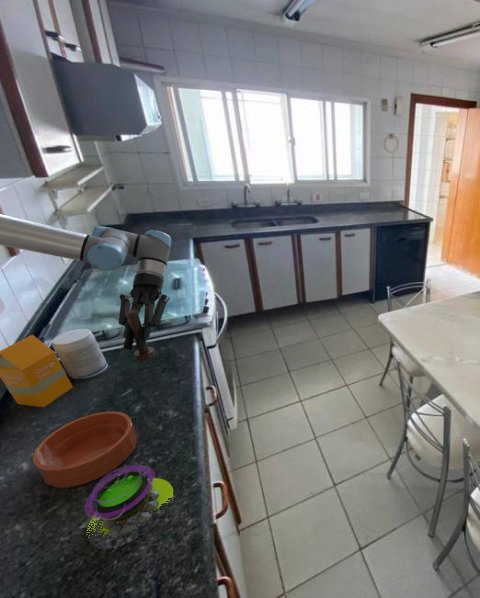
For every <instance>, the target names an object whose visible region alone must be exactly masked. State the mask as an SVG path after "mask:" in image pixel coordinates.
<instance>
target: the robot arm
mask: <svg viewBox="0 0 480 598" xmlns="http://www.w3.org/2000/svg"><path fill="white" fill-rule="evenodd" d="M0 246H4V247H6V248H7V247H8V248H12V249H18V250H23V251H29V252H32V253H33V252H34V253H38V254H44V255H49V256H53V257H60V258H64V259H69V260H74V261H75V260H76V261H80V262H85V263H88V264H90V265H91V266H93V267H94V268H95V269H97V270H101V271H114V270H116V269H118V268H120V267H121V266H122V264H124V263H125V261H126V260H127V257H130V258H131V257H132V258H137V259H138V261H137V265H136V269H135V274H134V278H133V282H132V288H131V290H130V291H129V293H126V294H124V293H121V294H120V295H119V300H120V307H119V315H118V317H119V318H118V325H120V326H122V327H124V331H123V334H122V336H123V338H124V343H123V347H122V348H123V349H124V350H129V351H131V350H132V349H133V347H134V342H135V339H134V336H133V333H132V329H131V326H130V323H129V320H128V317H127V314H126V312H128V311H130V310H137V311H138V315H139V316H140V312H141V311H142V310H141V309H142V308H144V313H143V315H144V316H143V323H141V325H142V326H140V330H139V335H138V339H137V344H136V343H135V349H137V350H138V349H141V350H142V349H144V346H145V341H147V339H149V338H150V337H151V336H150V335H151V331H152V328H154V327H159V326H160V324H161V321H162V317H163V315H164V312H165V308H166V305H167V303H168V302H170V299H171V297H170V296H168V295H167V294H163V292H162V289H163V286H164V281H165V280H164V278H165V277H166V271H167V266H168V261H169V258H170V253H171V248H172V237H171V236H170V235H169V234H167V233H166V232H163V231H160V230H153V229H150V230H147V231H146V232H144V234H138V233H134V232H130V231H125V230H122V229H116V228H113V227H111V226H110V227H107V226H102V225H97V226H95V227H94V228H93V230H92V232H91V235H90V234H86V233H82V232H79V231H74V230H70V229H66V228H61V227H58V226H53V225H48V224H45V223H40V222H37V221H33V220H27V219H23V218H19V217H15V216H10V215H6V214H2V213H0ZM131 301H132V302H131ZM156 301H157V303H156ZM154 308H155V309H154Z"/></svg>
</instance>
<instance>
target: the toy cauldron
mask: <svg viewBox="0 0 480 598" xmlns="http://www.w3.org/2000/svg"><path fill="white" fill-rule="evenodd" d="M138 471H139V472H138ZM114 472H116V473H114ZM142 472H143V473H146V476H145V475H143V474H142ZM112 473H113V474H112ZM154 476H156V475H155V471H154V470H153V469H152V468H151V467H149V466H147V465H126V466H122V467H119V468H115V469H114V470H112V471H111V472H109V473H107V474H105V475H104V476H103V478H102V479H100V480H99V482H97V484H96V485H95V487H93V489H92V491H91V493H90V494H89V496H88V498H86V503H85V504H84V506H85V507H84V508H85V509H84V511H85V514H86V515H87V516H88V517H89V518H90V521H89V523H88V526H87V529H86V536H87V535H88V534H87V533H90V532H87V531H88V530H89V529H90V528H91V527H90V526H89V525H90V523H93V524H94V526H92V525H93V524H91V526H92V527H94V528H95V525H97V523H98V522H97V523H94V521H95V520H96V519H98V520H99V519H100V518H101V519H103V520H104V521H100V522H102V524H101V523H99V524H100V525H102V526H103V529H99V530H102V532H103V531H105V532H104V534H108V533H109V534H108V535H109V536H112V537H116V536H118V535H119V533H120V531H121V529H122V533H128V532H131V531H132V530H134V529H136V524H135V523H134V522H132V521H131V522H128V523H126V522H127V519H128V518H130V517H132V516H134V515H135V514H137V513H138V512H140V514H139V515H138V516H137V517H136V518H135V520H136V521H138V522H139V523H142V522H145V521H147V520H149V518H150V514H149V512H152V510H156V509H155V508H159V507H160V506H162V505H161V504H163V503H168V502H166V501H170V500H168V498H172V497H173V498H172V499H173V500H174V494H173V492H174V488H173V485H171V483H170V482H169V481H168V480H165V479H163V478H159V477H154ZM94 501H95V502H96V510H95V509H94V505H93V504H94ZM157 506H158V507H157ZM91 519H92V520H94V521H93V522H92V520H91ZM117 521H118V522H119V524H117V523H116V522H117ZM95 522H96V521H95ZM102 526H101V527H100V528H102ZM88 527H89V528H88ZM98 527H99V526H98ZM94 528H91V529H93V530H95V531H96V529H94ZM97 529H98V528H97ZM89 531H92V530H89ZM95 531H94V532H95ZM98 532H99V531H98ZM102 532H100V533H102ZM106 532H108V533H106ZM92 535H93V534H92ZM100 535H101V534H100ZM89 536H90V535H89ZM95 536H96V535H95ZM103 536H104V535H103ZM107 537H108V536H107ZM88 538H89V537H88Z"/></svg>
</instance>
